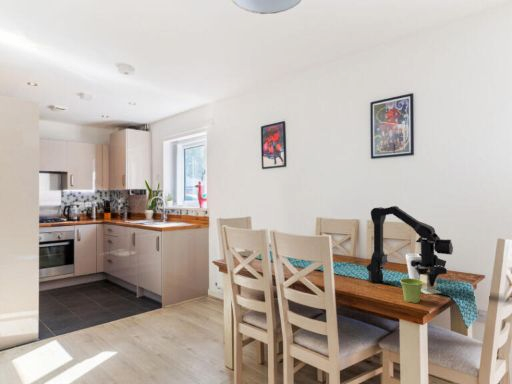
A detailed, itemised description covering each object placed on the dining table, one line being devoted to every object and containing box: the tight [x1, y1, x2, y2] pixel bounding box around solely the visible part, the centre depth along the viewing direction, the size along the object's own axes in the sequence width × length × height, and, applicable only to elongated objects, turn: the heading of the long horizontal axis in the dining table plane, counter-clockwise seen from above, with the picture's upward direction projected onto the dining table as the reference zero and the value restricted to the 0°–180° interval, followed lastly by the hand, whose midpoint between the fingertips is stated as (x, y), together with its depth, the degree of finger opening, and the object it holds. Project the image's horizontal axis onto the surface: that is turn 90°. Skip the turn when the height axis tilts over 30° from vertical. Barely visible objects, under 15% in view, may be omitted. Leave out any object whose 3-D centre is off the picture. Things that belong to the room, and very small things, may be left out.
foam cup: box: [405, 253, 421, 280], centre depth 179 cm, size 10×9×13 cm
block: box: [420, 274, 438, 290], centre depth 158 cm, size 5×5×6 cm
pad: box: [421, 288, 443, 295], centre depth 158 cm, size 8×8×1 cm
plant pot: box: [399, 278, 423, 304], centre depth 145 cm, size 9×9×9 cm
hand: (428, 284), depth 158 cm, fingers closed on block, 5 cm apart
